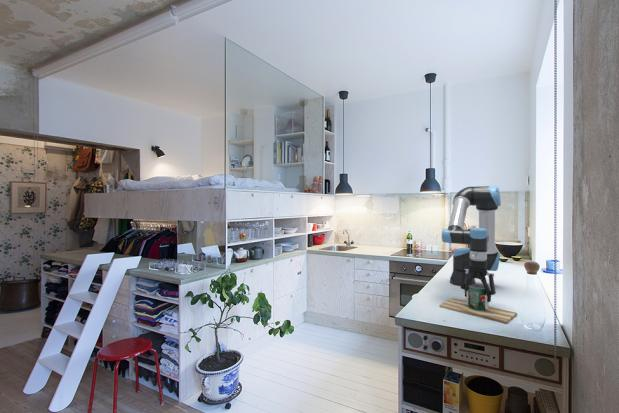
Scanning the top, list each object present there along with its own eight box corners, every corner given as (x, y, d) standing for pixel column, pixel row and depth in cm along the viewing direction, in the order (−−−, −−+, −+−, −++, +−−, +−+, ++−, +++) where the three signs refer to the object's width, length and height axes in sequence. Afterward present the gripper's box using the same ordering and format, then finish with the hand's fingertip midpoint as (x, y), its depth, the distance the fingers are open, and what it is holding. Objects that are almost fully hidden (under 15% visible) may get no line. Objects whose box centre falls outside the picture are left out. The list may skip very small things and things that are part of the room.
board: (452, 300, 172) (452, 298, 172) (516, 315, 150) (517, 312, 150) (439, 306, 161) (439, 304, 161) (506, 323, 139) (506, 321, 139)
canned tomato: (487, 312, 150) (488, 289, 150) (469, 310, 153) (469, 287, 153) (484, 306, 158) (485, 284, 158) (467, 305, 161) (467, 283, 160)
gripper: (453, 257, 160) (452, 302, 161) (499, 263, 145) (498, 313, 145) (459, 255, 165) (459, 299, 166) (504, 261, 150) (503, 309, 150)
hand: (477, 305), depth 155 cm, fingers closed on canned tomato, 8 cm apart
